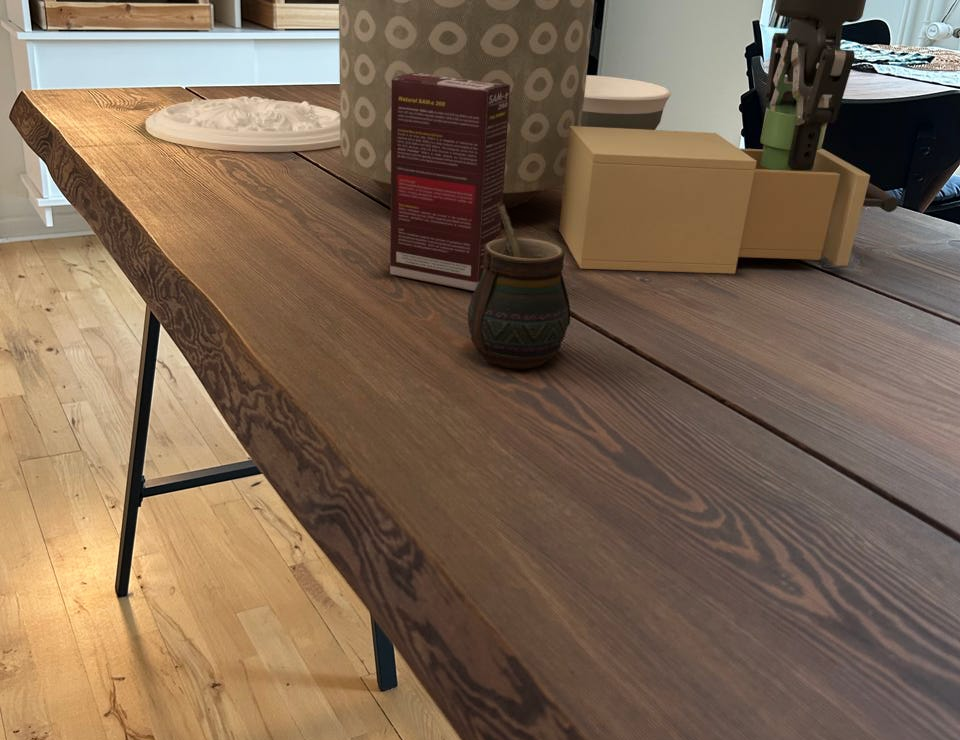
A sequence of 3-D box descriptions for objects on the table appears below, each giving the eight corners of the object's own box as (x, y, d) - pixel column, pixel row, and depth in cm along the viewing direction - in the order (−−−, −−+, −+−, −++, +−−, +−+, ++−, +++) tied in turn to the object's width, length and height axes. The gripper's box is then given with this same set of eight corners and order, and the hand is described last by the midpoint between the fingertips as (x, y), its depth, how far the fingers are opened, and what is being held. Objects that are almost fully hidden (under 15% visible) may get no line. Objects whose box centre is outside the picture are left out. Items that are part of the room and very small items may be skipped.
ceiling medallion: (262, 162, 122) (261, 134, 121) (99, 126, 134) (96, 100, 132) (399, 132, 143) (400, 108, 141) (248, 103, 155) (246, 80, 153)
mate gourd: (505, 385, 70) (516, 238, 65) (442, 348, 75) (448, 209, 70) (585, 366, 74) (602, 225, 68) (520, 332, 79) (531, 199, 73)
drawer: (848, 234, 106) (868, 150, 102) (895, 268, 97) (920, 177, 93) (677, 227, 105) (691, 142, 100) (708, 261, 95) (724, 168, 91)
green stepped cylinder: (804, 161, 99) (815, 106, 97) (825, 175, 95) (838, 117, 92) (748, 159, 99) (758, 104, 96) (767, 172, 94) (778, 114, 91)
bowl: (497, 142, 141) (501, 77, 137) (590, 131, 152) (596, 71, 148) (597, 170, 130) (605, 101, 125) (689, 156, 141) (700, 92, 136)
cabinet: (698, 235, 106) (716, 132, 101) (735, 273, 95) (757, 160, 90) (558, 230, 104) (569, 125, 99) (580, 268, 94) (593, 153, 88)
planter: (493, 250, 97) (512, -38, 84) (291, 201, 108) (282, -61, 95) (611, 203, 115) (641, -39, 103) (429, 165, 126) (436, -58, 114)
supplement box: (500, 279, 89) (514, 83, 81) (476, 294, 86) (489, 89, 77) (412, 261, 92) (417, 70, 84) (386, 275, 89) (388, 76, 80)
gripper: (908, -36, 82) (856, 181, 91) (839, -45, 94) (799, 147, 103) (818, -42, 81) (774, 178, 90) (760, -50, 93) (726, 144, 102)
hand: (787, 160), depth 96 cm, fingers closed on green stepped cylinder, 5 cm apart
